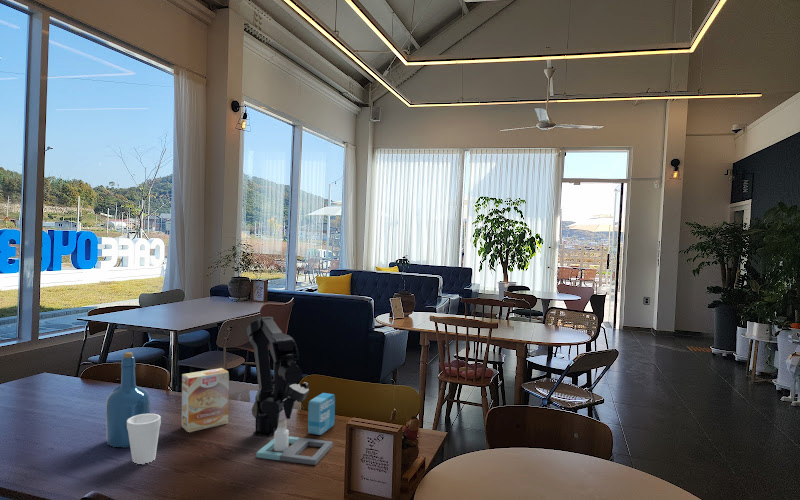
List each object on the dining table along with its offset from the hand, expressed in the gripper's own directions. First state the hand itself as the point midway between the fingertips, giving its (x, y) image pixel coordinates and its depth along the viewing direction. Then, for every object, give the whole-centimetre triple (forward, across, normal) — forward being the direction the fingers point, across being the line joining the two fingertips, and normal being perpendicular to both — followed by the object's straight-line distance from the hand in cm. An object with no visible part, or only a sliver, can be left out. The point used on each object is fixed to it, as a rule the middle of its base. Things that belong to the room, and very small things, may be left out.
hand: (282, 423), depth 177 cm
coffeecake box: (+9, +12, +36) cm, 39 cm away
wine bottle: (+9, -8, +52) cm, 53 cm away
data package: (+9, +20, -6) cm, 23 cm away
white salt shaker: (+9, 0, 0) cm, 9 cm away
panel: (+9, 0, -5) cm, 10 cm away
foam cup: (+9, -19, +37) cm, 43 cm away
